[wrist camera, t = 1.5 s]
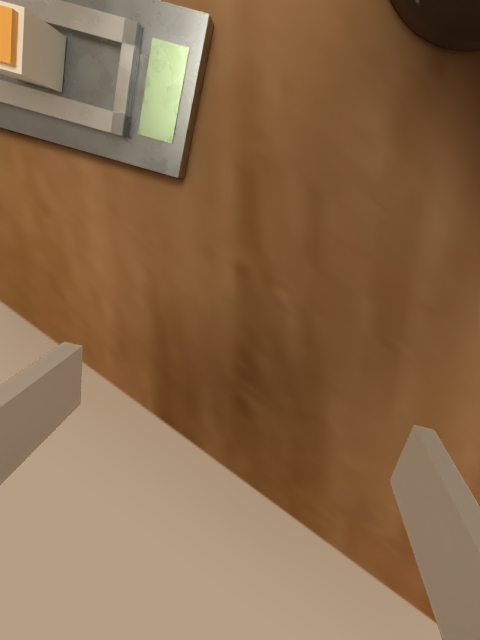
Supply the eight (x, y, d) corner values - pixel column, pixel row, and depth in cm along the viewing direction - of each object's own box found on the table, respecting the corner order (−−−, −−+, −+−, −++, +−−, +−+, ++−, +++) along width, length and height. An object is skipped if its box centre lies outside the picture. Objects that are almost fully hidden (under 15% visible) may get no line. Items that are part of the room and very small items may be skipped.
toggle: (19, 23, 29) (-39, -13, 24) (66, 37, 29) (18, 2, 24) (16, 80, 31) (-39, 56, 26) (61, 92, 31) (15, 71, 25)
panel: (-87, -57, 30) (-128, -85, 27) (214, 25, 30) (205, 6, 27) (-81, 103, 34) (-116, 94, 31) (184, 178, 34) (174, 177, 31)
